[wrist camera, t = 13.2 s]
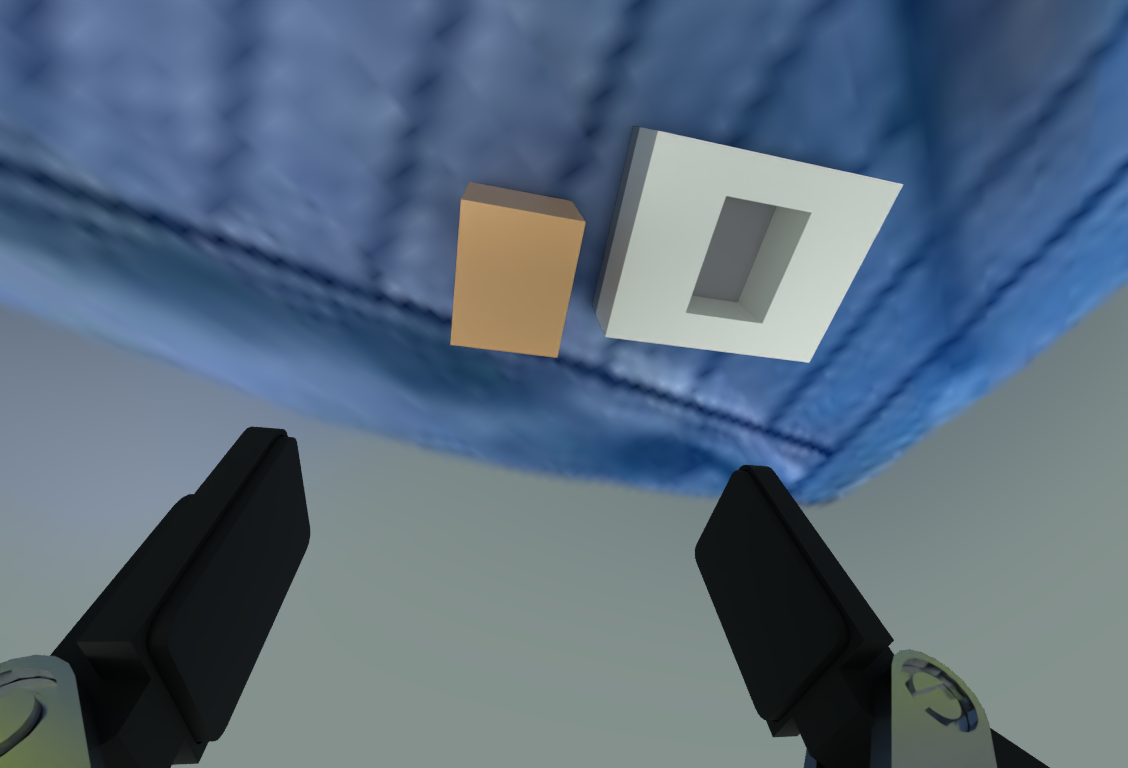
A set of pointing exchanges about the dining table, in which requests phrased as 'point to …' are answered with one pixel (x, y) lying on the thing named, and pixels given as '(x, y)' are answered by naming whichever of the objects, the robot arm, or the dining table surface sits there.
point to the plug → (514, 270)
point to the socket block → (732, 247)
